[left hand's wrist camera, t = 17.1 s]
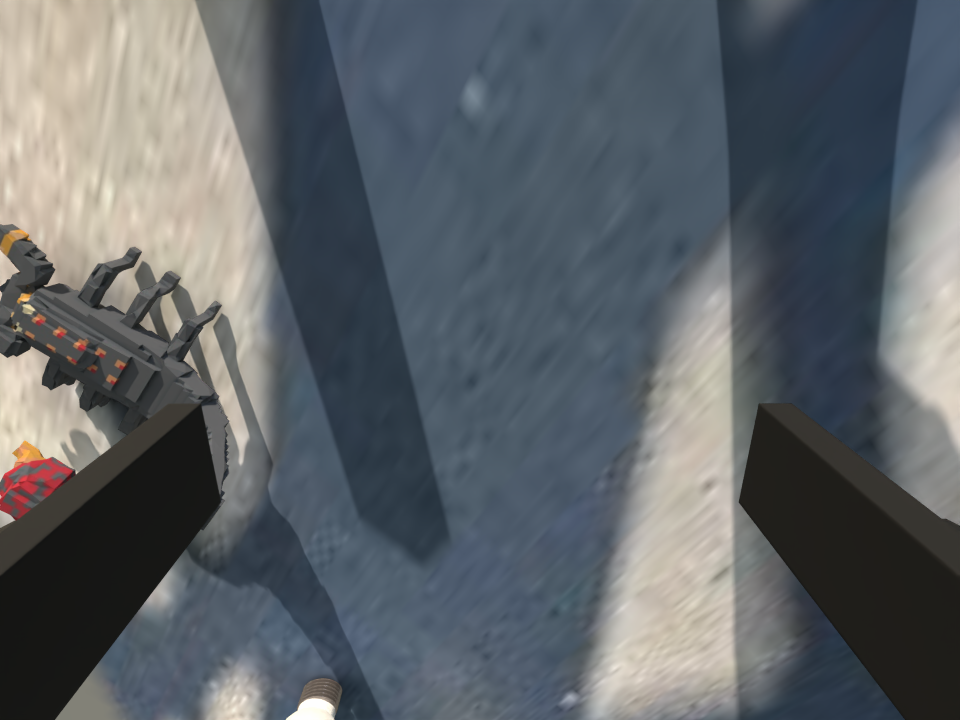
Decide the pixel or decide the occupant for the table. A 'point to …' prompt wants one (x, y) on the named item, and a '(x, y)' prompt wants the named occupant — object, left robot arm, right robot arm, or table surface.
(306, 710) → the light bulb
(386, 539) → the table surface
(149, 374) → the toy
